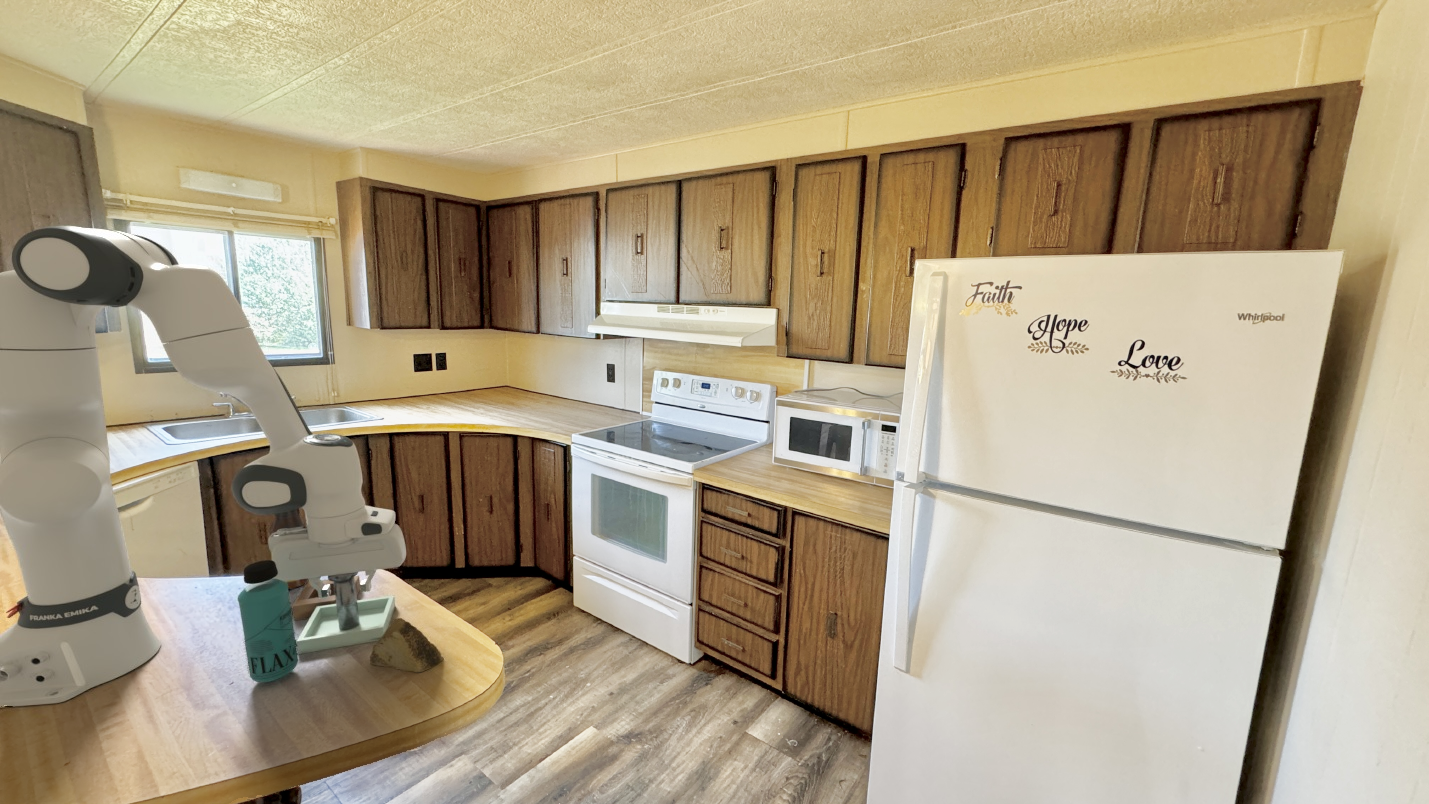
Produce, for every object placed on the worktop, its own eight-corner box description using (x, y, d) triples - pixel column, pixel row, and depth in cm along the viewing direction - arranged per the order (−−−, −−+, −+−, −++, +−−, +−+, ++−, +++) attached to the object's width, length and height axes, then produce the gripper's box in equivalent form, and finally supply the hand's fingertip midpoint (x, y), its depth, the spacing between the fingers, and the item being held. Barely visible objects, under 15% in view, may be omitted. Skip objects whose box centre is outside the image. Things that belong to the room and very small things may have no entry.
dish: (298, 654, 95) (296, 641, 95) (318, 618, 105) (316, 606, 105) (384, 639, 100) (383, 627, 99) (395, 606, 110) (394, 595, 109)
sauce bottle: (292, 593, 113) (279, 502, 109) (267, 589, 115) (253, 499, 110) (320, 577, 120) (309, 491, 116) (296, 573, 121) (284, 488, 117)
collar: (294, 620, 104) (292, 606, 104) (309, 595, 113) (307, 582, 112) (349, 612, 108) (347, 598, 107) (360, 588, 116) (359, 575, 115)
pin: (331, 634, 100) (323, 577, 98) (338, 620, 104) (331, 565, 102) (360, 629, 101) (354, 572, 99) (366, 616, 105) (360, 561, 104)
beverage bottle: (245, 696, 85) (225, 579, 81) (256, 670, 91) (238, 559, 87) (297, 684, 88) (280, 570, 84) (304, 659, 94) (289, 551, 90)
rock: (347, 659, 91) (375, 677, 85) (373, 606, 94) (403, 620, 89) (406, 667, 99) (436, 684, 93) (428, 618, 102) (459, 631, 97)
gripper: (259, 538, 92) (270, 612, 95) (398, 523, 99) (404, 593, 102) (273, 522, 98) (283, 593, 100) (404, 510, 105) (410, 576, 107)
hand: (345, 593), depth 101 cm, fingers open, 5 cm apart
